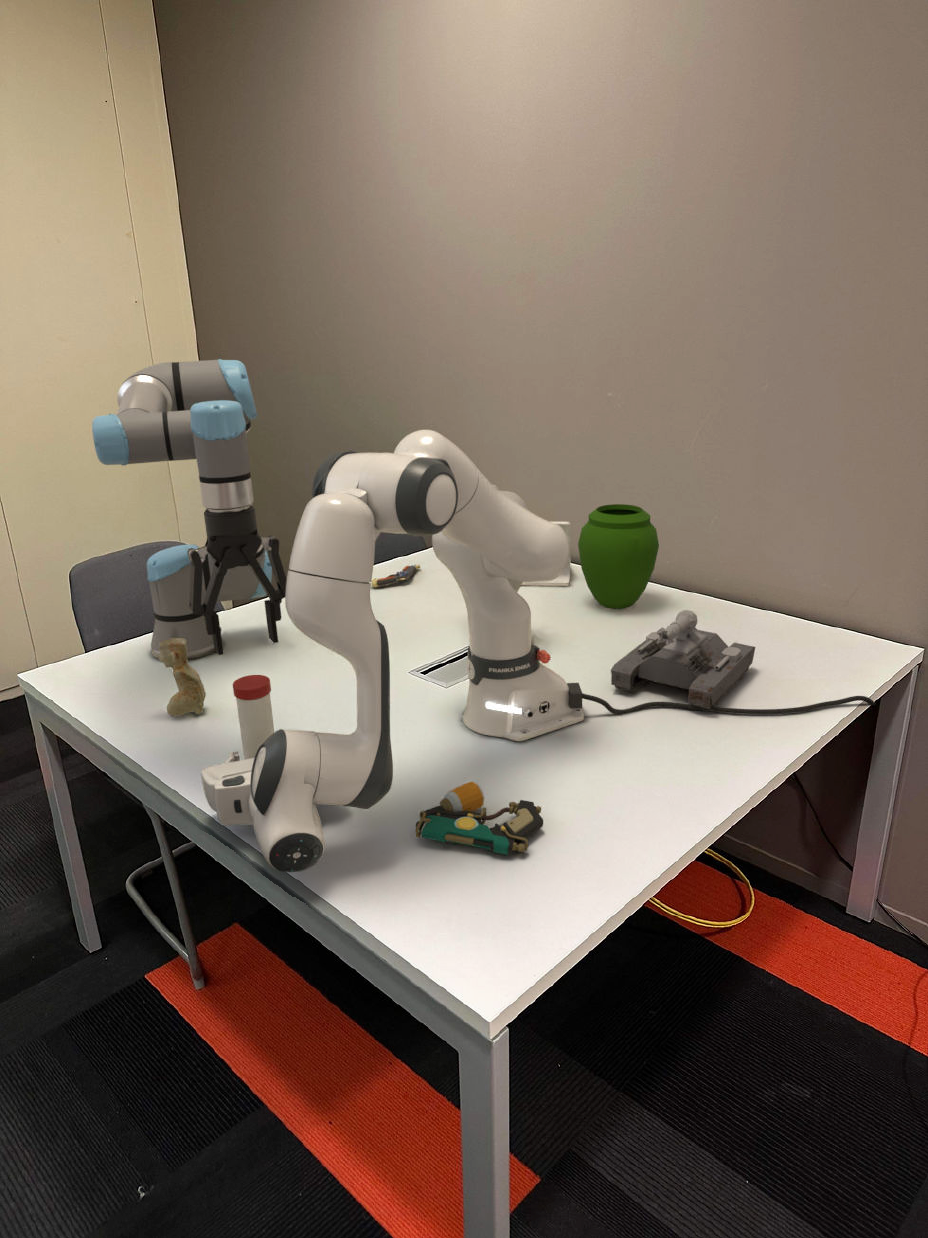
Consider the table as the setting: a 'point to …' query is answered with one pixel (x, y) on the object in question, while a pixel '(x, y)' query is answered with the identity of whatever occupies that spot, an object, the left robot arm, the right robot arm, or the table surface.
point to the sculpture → (182, 678)
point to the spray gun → (478, 821)
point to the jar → (255, 723)
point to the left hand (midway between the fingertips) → (246, 645)
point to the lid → (251, 687)
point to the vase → (618, 554)
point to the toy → (685, 662)
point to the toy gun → (396, 576)
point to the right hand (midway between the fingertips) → (264, 750)
